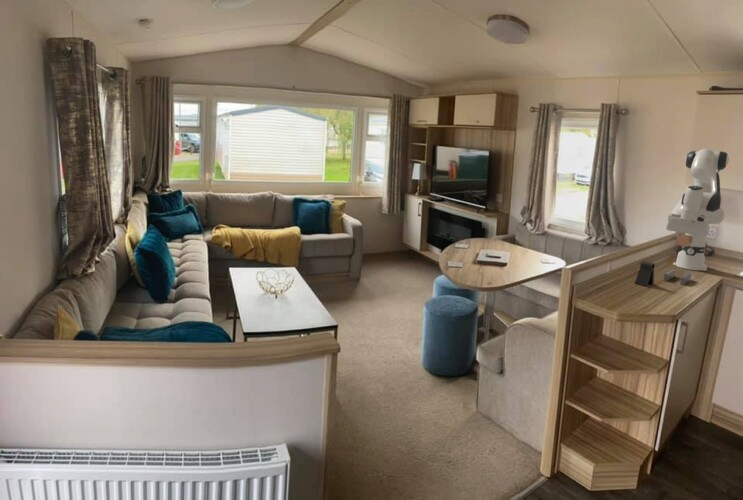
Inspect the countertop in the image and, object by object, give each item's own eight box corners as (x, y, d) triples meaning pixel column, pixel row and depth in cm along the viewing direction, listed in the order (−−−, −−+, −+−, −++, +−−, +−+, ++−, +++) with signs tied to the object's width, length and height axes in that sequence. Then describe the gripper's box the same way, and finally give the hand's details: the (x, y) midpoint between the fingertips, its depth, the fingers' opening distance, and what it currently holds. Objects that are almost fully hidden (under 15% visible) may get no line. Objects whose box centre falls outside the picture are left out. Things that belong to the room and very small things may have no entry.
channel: (671, 275, 323) (672, 269, 322) (690, 279, 316) (691, 273, 315) (663, 280, 311) (664, 273, 310) (683, 284, 304) (684, 277, 303)
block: (681, 243, 309) (683, 234, 308) (691, 244, 306) (693, 236, 305) (676, 244, 304) (678, 235, 302) (686, 246, 300) (688, 237, 299)
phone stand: (645, 286, 296) (649, 264, 293) (634, 283, 300) (638, 262, 298) (653, 284, 301) (657, 263, 298) (642, 281, 306) (646, 260, 303)
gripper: (667, 213, 306) (662, 238, 309) (709, 219, 293) (704, 245, 296) (670, 212, 310) (666, 237, 314) (712, 218, 297) (707, 244, 301)
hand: (685, 241), depth 305 cm, fingers closed on block, 5 cm apart
